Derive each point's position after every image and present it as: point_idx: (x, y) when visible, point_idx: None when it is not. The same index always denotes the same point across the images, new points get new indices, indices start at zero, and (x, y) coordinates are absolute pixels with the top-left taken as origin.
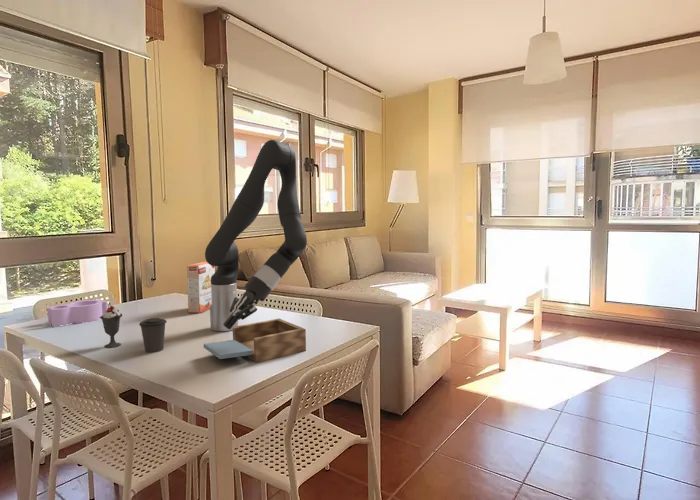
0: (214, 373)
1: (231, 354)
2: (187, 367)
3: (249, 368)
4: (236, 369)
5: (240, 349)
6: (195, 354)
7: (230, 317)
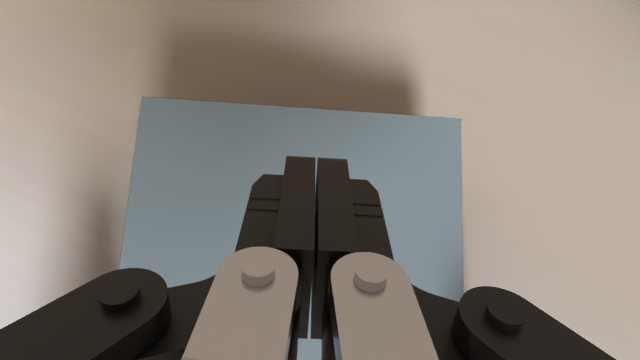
0: (133, 82)
1: (133, 179)
2: (318, 23)
3: (42, 261)
4: (91, 195)
5: (187, 283)
6: (496, 128)
7: (301, 223)
